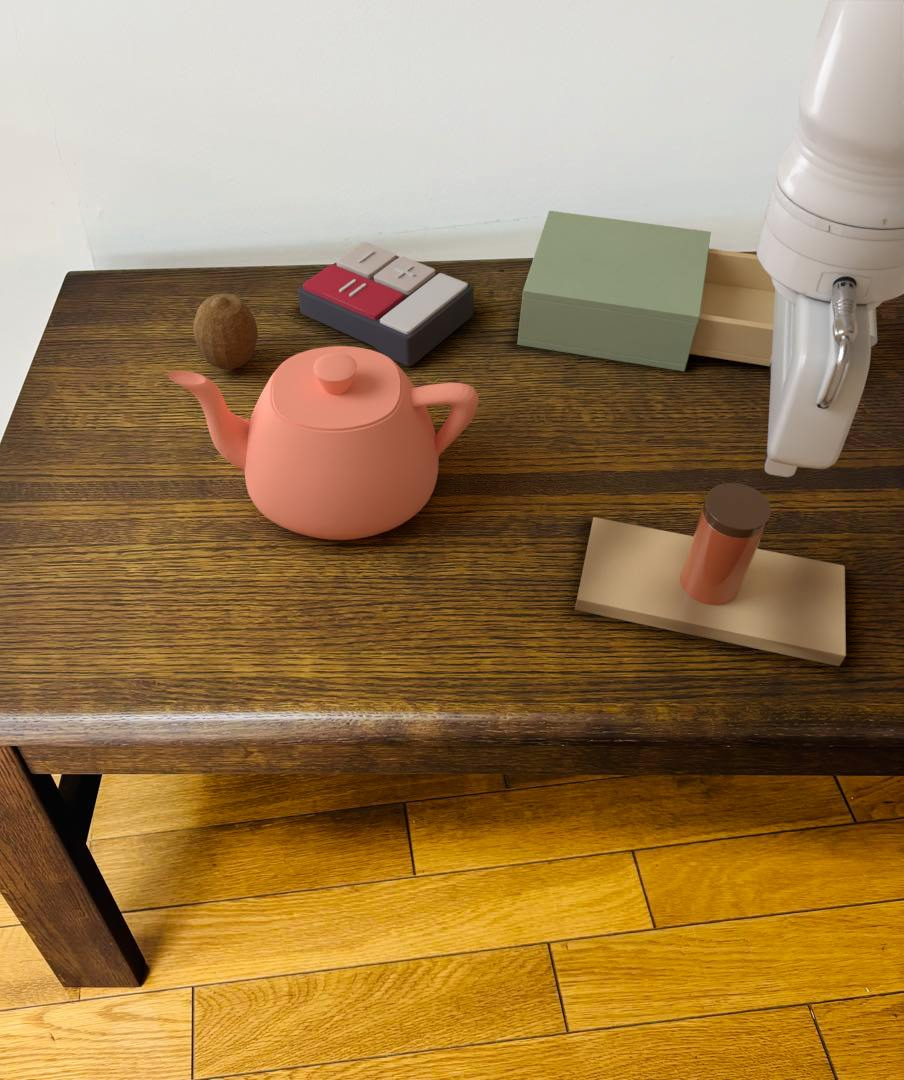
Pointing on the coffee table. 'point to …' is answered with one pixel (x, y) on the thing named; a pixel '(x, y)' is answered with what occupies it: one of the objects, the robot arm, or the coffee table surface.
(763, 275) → the drawer
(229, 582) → the coffee table surface
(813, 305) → the robot arm
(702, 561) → the spice jar
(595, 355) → the cabinet
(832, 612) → the board
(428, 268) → the calculator
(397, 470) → the teapot
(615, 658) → the coffee table surface
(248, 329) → the fruit
